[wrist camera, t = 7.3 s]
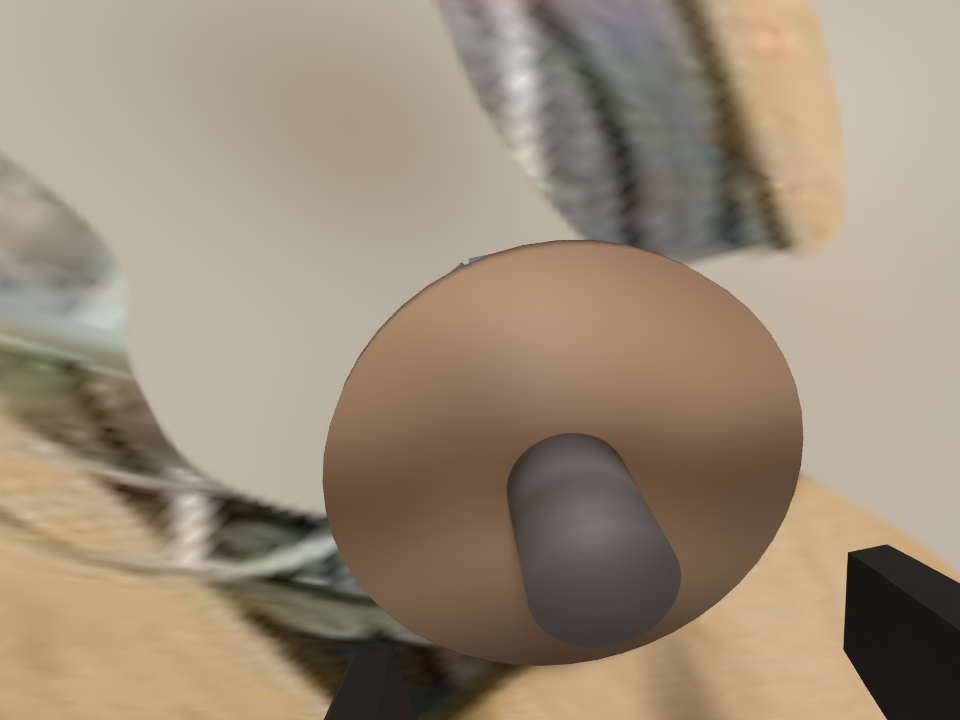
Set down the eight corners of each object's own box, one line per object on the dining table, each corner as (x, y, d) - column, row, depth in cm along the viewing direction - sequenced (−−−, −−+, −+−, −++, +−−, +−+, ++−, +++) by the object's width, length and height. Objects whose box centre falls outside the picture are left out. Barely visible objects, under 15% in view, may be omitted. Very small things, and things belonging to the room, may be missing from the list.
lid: (784, 594, 16) (887, 732, 13) (394, 676, 16) (382, 835, 13) (783, 189, 12) (934, 218, 9) (263, 300, 12) (189, 375, 9)
